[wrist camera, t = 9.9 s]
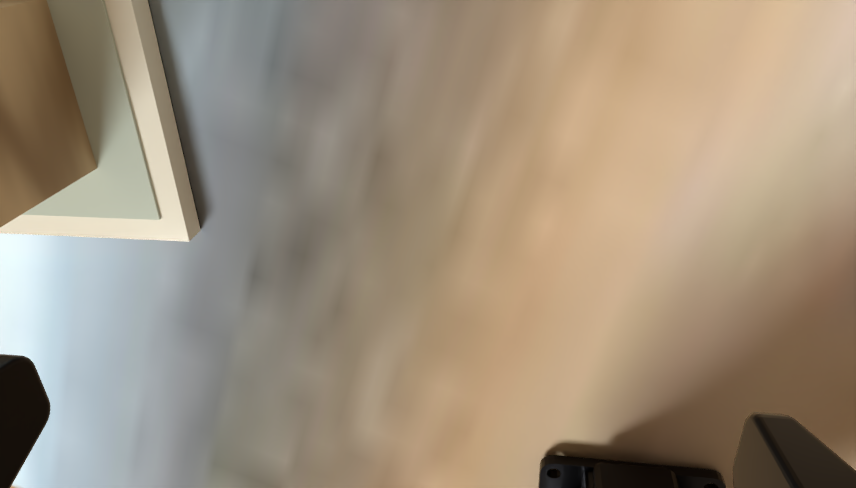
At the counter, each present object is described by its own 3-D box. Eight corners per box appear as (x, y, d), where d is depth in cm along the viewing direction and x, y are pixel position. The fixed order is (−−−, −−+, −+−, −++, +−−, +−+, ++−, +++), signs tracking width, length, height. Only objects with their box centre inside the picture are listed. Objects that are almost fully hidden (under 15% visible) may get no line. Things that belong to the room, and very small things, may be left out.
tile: (200, 230, 22) (187, 242, 21) (-57, 219, 23) (-78, 231, 22) (123, -107, 17) (102, -107, 16) (-194, -93, 18) (-227, -92, 18)
